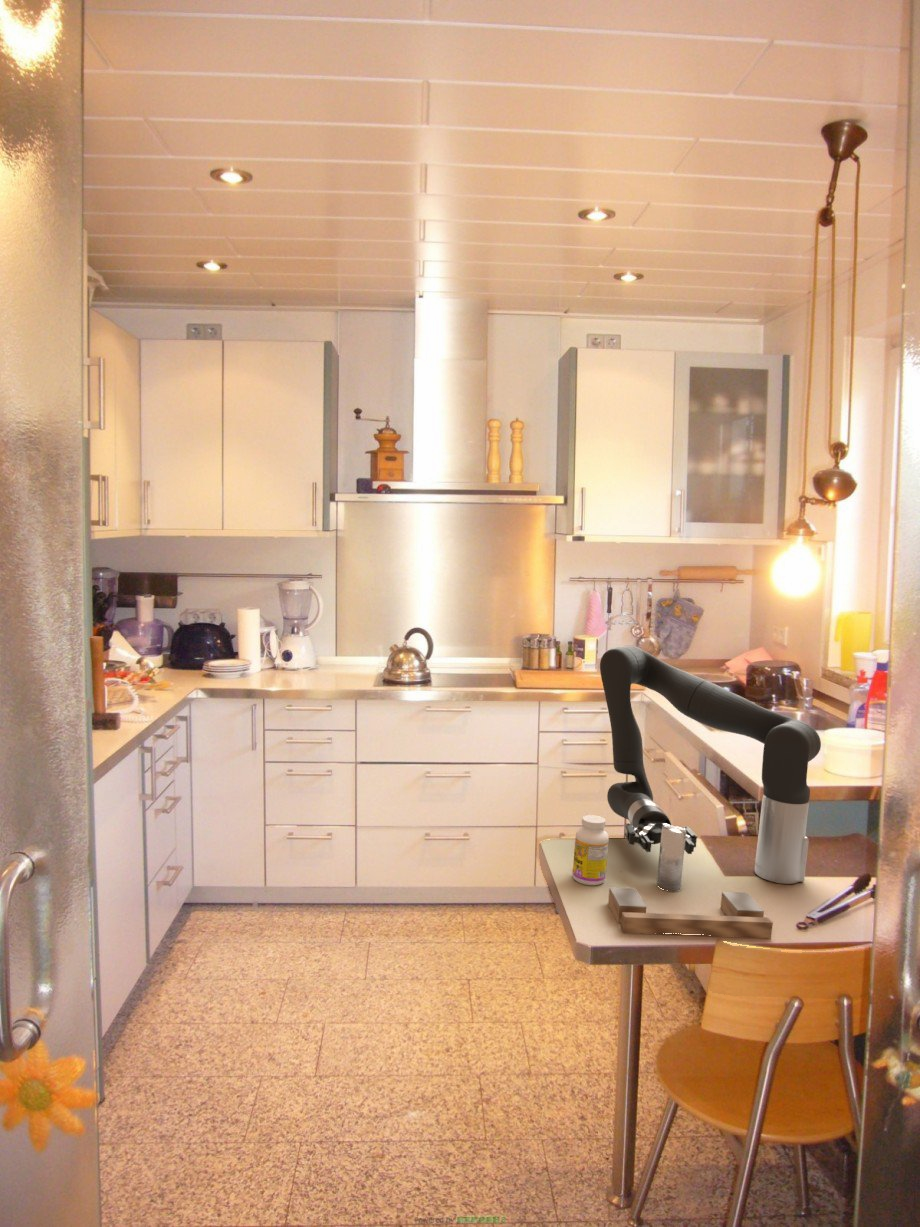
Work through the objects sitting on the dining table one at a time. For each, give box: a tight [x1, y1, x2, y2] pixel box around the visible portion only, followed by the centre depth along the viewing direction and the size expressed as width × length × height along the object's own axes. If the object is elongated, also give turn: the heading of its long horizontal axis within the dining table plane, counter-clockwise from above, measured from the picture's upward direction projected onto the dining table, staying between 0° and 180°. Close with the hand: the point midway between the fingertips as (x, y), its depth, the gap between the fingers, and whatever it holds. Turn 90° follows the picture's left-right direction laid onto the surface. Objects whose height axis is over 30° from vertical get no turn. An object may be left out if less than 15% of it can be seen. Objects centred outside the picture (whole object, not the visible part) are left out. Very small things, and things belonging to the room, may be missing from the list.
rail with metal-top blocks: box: [607, 886, 774, 939], centre depth 166 cm, size 27×12×3 cm, turn 94°
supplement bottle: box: [572, 814, 610, 886], centre depth 181 cm, size 7×7×13 cm
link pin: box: [656, 824, 686, 892], centre depth 181 cm, size 5×5×12 cm
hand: (670, 848), depth 182 cm, fingers open, 8 cm apart
